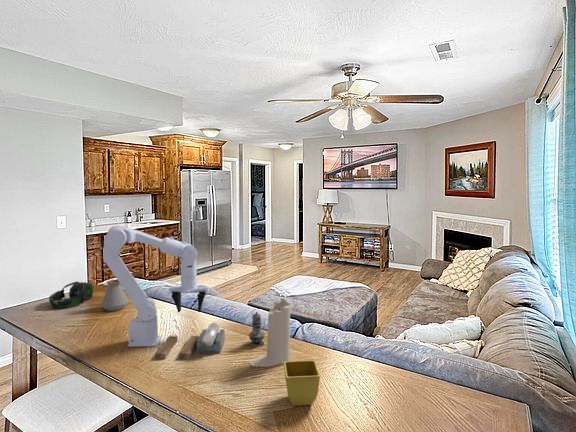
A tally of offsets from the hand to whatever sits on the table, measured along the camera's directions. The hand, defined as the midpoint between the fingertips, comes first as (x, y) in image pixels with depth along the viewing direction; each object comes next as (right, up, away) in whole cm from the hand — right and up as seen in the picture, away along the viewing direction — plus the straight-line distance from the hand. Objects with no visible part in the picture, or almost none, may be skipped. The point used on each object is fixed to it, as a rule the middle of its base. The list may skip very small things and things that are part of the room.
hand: (189, 311), depth 138 cm
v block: (+10, -10, -9) cm, 17 cm away
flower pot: (+41, -13, -41) cm, 60 cm away
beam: (-1, -10, -11) cm, 15 cm away
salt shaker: (+26, -10, -7) cm, 29 cm away
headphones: (-67, -6, +38) cm, 77 cm away
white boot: (+32, -11, -19) cm, 39 cm away
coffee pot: (-40, -7, +35) cm, 54 cm away
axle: (+10, -6, -10) cm, 15 cm away
